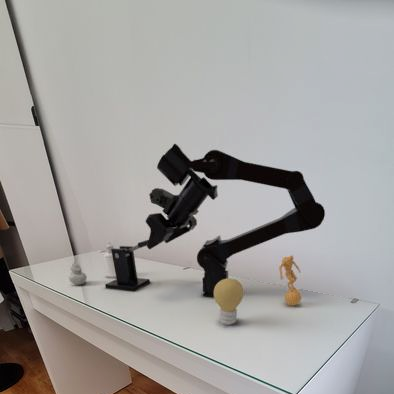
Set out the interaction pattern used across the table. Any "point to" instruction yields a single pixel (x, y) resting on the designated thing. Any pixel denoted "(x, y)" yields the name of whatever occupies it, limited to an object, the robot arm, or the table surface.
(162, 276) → the table surface
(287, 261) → the figurine
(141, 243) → the lever
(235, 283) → the light bulb
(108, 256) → the eye dropper bottle
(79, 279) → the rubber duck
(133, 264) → the bracket
